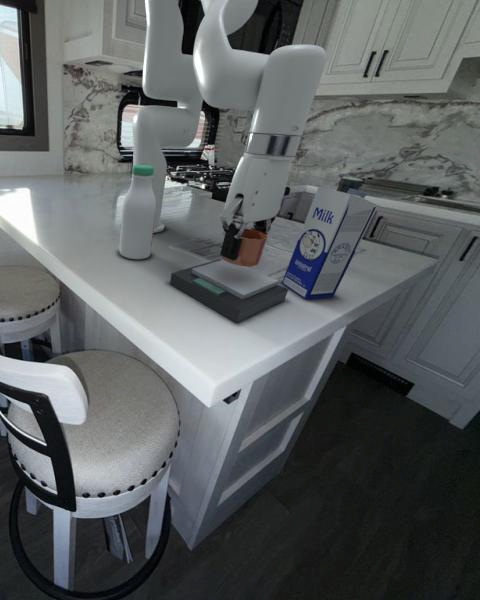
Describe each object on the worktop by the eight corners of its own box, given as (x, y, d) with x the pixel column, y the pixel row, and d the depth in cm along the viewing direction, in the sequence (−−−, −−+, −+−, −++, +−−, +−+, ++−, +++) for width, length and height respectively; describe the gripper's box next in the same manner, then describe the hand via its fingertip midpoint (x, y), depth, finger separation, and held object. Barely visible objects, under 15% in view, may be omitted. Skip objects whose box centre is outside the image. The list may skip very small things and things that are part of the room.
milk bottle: (148, 262, 71) (160, 169, 61) (116, 257, 72) (122, 166, 62) (151, 250, 78) (162, 165, 67) (122, 246, 79) (128, 162, 68)
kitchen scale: (169, 283, 62) (172, 268, 60) (217, 269, 70) (220, 254, 68) (236, 323, 51) (241, 305, 49) (284, 300, 59) (290, 284, 57)
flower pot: (213, 256, 58) (219, 230, 56) (235, 250, 62) (242, 225, 59) (244, 269, 53) (252, 242, 51) (266, 262, 57) (275, 236, 54)
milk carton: (280, 283, 65) (318, 184, 55) (307, 281, 67) (348, 185, 56) (305, 299, 59) (352, 193, 49) (334, 297, 61) (385, 193, 50)
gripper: (278, 146, 55) (250, 240, 64) (215, 145, 46) (193, 255, 55) (322, 150, 50) (285, 252, 59) (260, 150, 41) (228, 271, 50)
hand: (241, 253), depth 57 cm, fingers closed on flower pot, 6 cm apart
